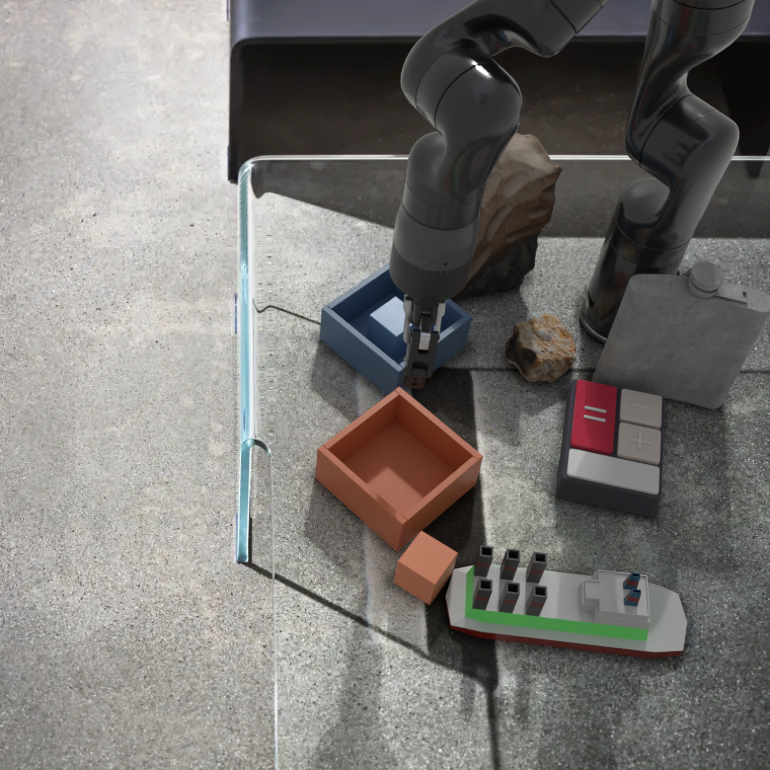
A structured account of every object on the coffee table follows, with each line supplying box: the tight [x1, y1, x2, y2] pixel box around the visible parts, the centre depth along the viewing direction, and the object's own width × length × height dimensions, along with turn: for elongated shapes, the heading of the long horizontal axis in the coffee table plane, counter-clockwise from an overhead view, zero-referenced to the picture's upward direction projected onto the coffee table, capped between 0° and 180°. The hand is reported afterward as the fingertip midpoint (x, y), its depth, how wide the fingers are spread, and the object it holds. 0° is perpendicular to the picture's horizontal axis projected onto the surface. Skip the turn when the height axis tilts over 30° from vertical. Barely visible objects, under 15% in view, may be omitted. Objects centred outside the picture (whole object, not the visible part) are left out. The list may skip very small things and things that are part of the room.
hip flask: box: [591, 260, 770, 410], centre depth 131 cm, size 16×4×20 cm, turn 84°
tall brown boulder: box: [449, 131, 563, 303], centre depth 141 cm, size 13×13×20 cm
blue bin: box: [318, 261, 474, 396], centre depth 137 cm, size 13×13×6 cm
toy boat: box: [444, 544, 688, 659], centre depth 116 cm, size 8×25×8 cm, turn 85°
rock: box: [503, 313, 578, 383], centre depth 139 cm, size 9×6×10 cm
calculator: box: [555, 378, 666, 518], centre depth 131 cm, size 11×4×15 cm
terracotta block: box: [393, 530, 459, 606], centre depth 119 cm, size 4×4×4 cm
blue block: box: [367, 297, 420, 360], centre depth 137 cm, size 4×4×4 cm
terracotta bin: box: [314, 387, 484, 553], centre depth 125 cm, size 13×13×6 cm
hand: (413, 352), depth 118 cm, fingers open, 8 cm apart
